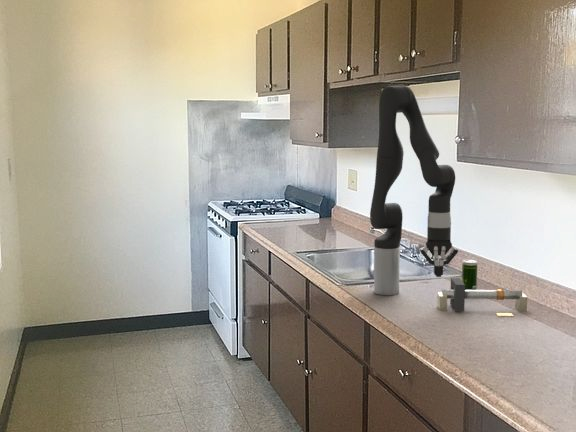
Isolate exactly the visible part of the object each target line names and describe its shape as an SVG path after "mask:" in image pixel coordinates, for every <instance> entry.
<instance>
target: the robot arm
mask: <svg viewBox="0 0 576 432" xmlns="http://www.w3.org/2000/svg"><path fill="white" fill-rule="evenodd" d="M378 100H379V101H378V119H379V120H378V122H379V123H378V124H379V125H378V127H379V128H378V142H377V145H378V146H377V151H376V152H377V153H376V163H375V179H374V188H373V193H372V200H371V204H370V212H369V219H370V225H371V226H372V228H373V229H375V230H383V229H384V230H386V231H385V232H384V233H382V235H380V236H378V237H376V238H375V239H374V245H373V246H374V249H373V250H374V255H373V256H374V257H373V258H374V259H373V260H374V261H373V264H374V265H373V267H374V268H373V269H374V271H373V272H374V273H373V274H374V277H373V281H374V283H373V293H374V294H376V295H381V296H393V295H394V296H396V295H398V294H400V267H401V266H400V257H401V252H400V251H401V249H400V248H401V240H402V231H403V210H402V207H401V205H400V204H399V203H397V202H386V200H387V196H388V193H389V191H390V189H391V187H392V186H393V184H394V183H395V182H396V180H397V179H398V177H399V176H400V174H401V172H402V170H403V164H404V155H405V154H404V153H405V151H404V148H403V144H402V141H401V139H400V137H399V135H398V132H397V127H396V126H397V114H398V113H402V115H403V116H404V117H405V119H406V120H407V123H408V125H409V142H410V146H411V148H412V150H413V152H414V154H415V156H416V158H417V159H418V161H419V165H420V170H421V173H422V177H423V180H424V181H425V183H426V184H427V185H428V186H429V187H432V188H435V191H434V193H432V194H430V195H429V197H428V213H427V231H426V232H427V233H426V235H427V236H426V238H427V239H426V241H425V242H426V243H425V245H424V246H423V247H422V248H420V249H419V252H420V254H422V256H423V257H424V258H425V260H426V261H427V262H428V264H429V265H432V266H433V274H434V276H435V277H436V278H437V277H438V278H441V277H442V276H443V275H444V266H445V265H449V264H450V263H451V261H452V260H453V259H454V258H455V257H456V255H457V254H458V253H459V250H458V249H457V248H455V247H454V246H453V244H452V240H451V239H452V238H451V234H452V233H451V232H452V231H451V229H452V220H451V219H452V216H451V198H452V195H453V192H454V191H453V190H454V187H455V184H456V172H455V170H454V168H453V167H452V166H451V165H449V164H438V162H437V160H438V159H439V157H440V151H439V149H438V147H437V145H436V143H435V141H434V140H433V138H432V136H431V135H430V133H429V131H428V128H427V126H426V123H425V121H424V118H423V115H422V112H421V110H420V107H419V103H418V100H417V98H416V96H415V93H414V91H413V90H412V88H411V87H410V86H407V85H387V86H385V87H383V89H381V91H380V94H379V98H378ZM428 251H429V253H430V254H431V255H432V259H431V258H430V256H429V255H428ZM446 255H447V256H446ZM445 256H446V257H445Z"/></svg>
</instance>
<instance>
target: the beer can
mask: <svg viewBox="0 0 576 432" xmlns="http://www.w3.org/2000/svg"><path fill="white" fill-rule="evenodd" d="M461 265H462V267H461V280H462V282H463V283H464V284H465V290H478V286H477V285H478V261H477V260H474V259H464V260H462V264H461Z"/></svg>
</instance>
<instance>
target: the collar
mask: <svg viewBox="0 0 576 432" xmlns="http://www.w3.org/2000/svg"><path fill="white" fill-rule="evenodd" d="M450 290H454V299H449V304H450V305H451V307H452V309H453V311H454V312H465V301H466V299H465V284H464V283H463V282H462V278H460V277H450Z"/></svg>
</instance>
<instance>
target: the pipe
mask: <svg viewBox="0 0 576 432" xmlns="http://www.w3.org/2000/svg"><path fill="white" fill-rule="evenodd" d="M450 299H454V290H451V289H441V291H438V292H437V301H436V304H437V305H436V306H437V309H438V310H439V311H440V312H441V311H442V312H443V311H444V312H446V311H448V300H450ZM465 300H497V301H504V300H514V301H515V302H514V308H515V309H516V310H517V311H518V312H519V313H523V312H525V313H526V312H527V310H528V296H527V295H526V294H525V293H524V292H523V291H522V290H521V289H520V290H518V289H517V290H516V289H513V290H509V289H508V290H507V289H505V290H504V289H500V288H499V289H496V290H495V289H477V290H465ZM495 315H496V316H497V317H499V318H500V317H501V318H514V317H515V316H514V314H513V313H512V312H511V313H510V312H505V313H504V312H495Z"/></svg>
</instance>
